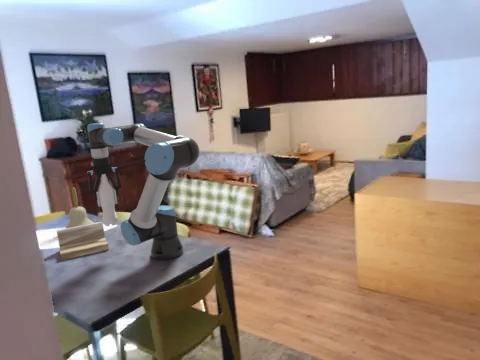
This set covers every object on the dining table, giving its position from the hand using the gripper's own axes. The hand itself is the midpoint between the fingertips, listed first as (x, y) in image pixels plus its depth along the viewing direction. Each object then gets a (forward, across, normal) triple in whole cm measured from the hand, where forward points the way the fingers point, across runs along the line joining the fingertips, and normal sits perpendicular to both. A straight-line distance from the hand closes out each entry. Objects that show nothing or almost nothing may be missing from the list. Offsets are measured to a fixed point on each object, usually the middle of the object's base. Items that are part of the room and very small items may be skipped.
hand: (107, 204), depth 194 cm
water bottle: (+10, 0, 0) cm, 10 cm away
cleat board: (+25, +13, -12) cm, 31 cm away
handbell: (+25, +12, -51) cm, 58 cm away
